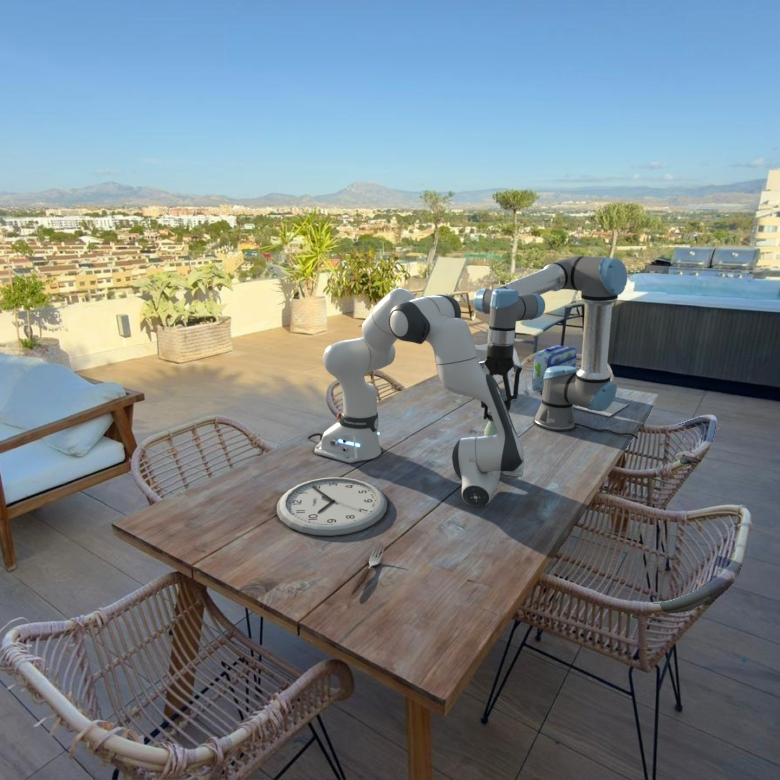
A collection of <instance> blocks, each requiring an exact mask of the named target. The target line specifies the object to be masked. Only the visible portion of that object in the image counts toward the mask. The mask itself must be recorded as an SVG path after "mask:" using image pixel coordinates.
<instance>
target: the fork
mask: <svg viewBox="0 0 780 780" xmlns="http://www.w3.org/2000/svg"><path fill="white" fill-rule="evenodd" d="M376 547H377V548H376ZM379 547H380V545H378V546H377V545H375V546H374V548H373V551H372V553H371V555H370V557H369V560H368V564H369V566H368V567H367V569H365V571H364V572H363V573H362V574H361V575H360V577H359V578H358V580H357V582H356V584H355V586H354V587H353V590H352V592H351V595H352V596H353V595H354V594H355V593H356V592H357V590H358V589H359V588H360V586H362V584H363V583H364V582H365V580H366V578H367V576H368V575H369V572H370V570H371V568H372V567H374V566H377V565H379V564H380V563H381V561H382V558H383V554H384V551H385V548H382V547H380V548H379ZM381 550H382V551H381Z"/></svg>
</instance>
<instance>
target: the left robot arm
mask: <svg viewBox="0 0 780 780" xmlns="http://www.w3.org/2000/svg"><path fill="white" fill-rule="evenodd" d="M361 335H362V336H361V337H358V338H353V339H346V340H340V341H337V342H335V343H332V344H330V345H328V346H326V348H325V349H324V352H323V354H322V362H323V367H324V368H325V370H326V371H327V373H329V374H330V375H331V376H333V377H334V378H335V379H336V380H337V381H338V383H339V385H340V388H341V393H342V406H343V407H342V409H341V410H340V412H338V414H337V415H336V420H338V421H337V422H335V423H334V424H332V425H331V426H330V427H328V428H327V429H326V430H324V431H323V432H315V433H313V434H310V435H308V436H307V440H310V439H312V438H314V437H316V436H317V437H318V436H319V442H318V443H317V444H316V445H315V447H314V454H316V455H320V456H322V457H326V458H330V459H332V460H333V459H334V460H337V461H340V462H344V463H347V464H353V463H357V462H361V461H368V460H372V459H375V458H377V457H379V456H380V455H381V454H382V448H381V445H380V440H379V435H380V432H378V429H379V412H378V392H377V389H376V388H375V387H374V385H372V384H371V383H368V382H367V381H366V379H365V373H367V372H368V373H369V372H373V371H377V370H381V369H383V368H386V367H387V366H390V365H391V364H393V362H394V361H395V358H396V347H395V345H394V344H395V343H396V341H397V340H399V341H402V342H407V343H413V344H418V345H422V344H424V343H425V342H427V343H429V345H430V346H431V348H432V350H433V354H434V361H435V368H436V371H437V375H438V379H439V381H440V383H441V385H443V387H444V388H445V389H447V390H448V391H450V392H452V393H454V394H457V395H460V396H464V397H470V398H473V399H476V400H479V401H480V402H481V401H482V402H484V403H485V404H486V405H487V406H488V411H489V412H490V413H491V415H492V418H493V421H494V423H495V426H496V429H497V432H498V434H495V435H487V436H484V435H475V436H466V437H460V438H459V439H458V440H457V441H456V443H455V444H454V446H453V449H452V453H451V454H452V455H451V462H452V466H453V470H454V475H455V477H456V478H457V479H459V480H460V481H461V497H462V500H463V501H464V503H466V504H467V505H469V506H471V507H473V508H482V507H485V506H487V505H488V504H489V503H491V501H492V500H493V498H494V497H495V495H496V491H497V488H498V484H499V482H500V479H501V478H507V479H515V480H516V479H519V478H522V477H523V476H524V465H525V452H524V447H523V444H522V441H521V440H520V438H519V435H518V433H517V431H516V428H515V426H514V424H513V421H512V418H511V415H510V411H508V410H507V407H506V404H505V402H504V399H505V398H504V396H503V395H502V392H501V389H500V387H499V384H498V382H497V381H496V378H495V377H494V375H493V376H492V375H489V374H487V373H486V372H485V371H484V370H483V369H482V367H481V365H480V363H479V361H478V357H477V351H476V347H475V346H476V344H475V340H474V337H473V334H472V331H471V329H470V326H469V325H468V323H467V321H466V320H464V319H462V309H461V305H460V303H459V302H458V300H457V299H455V297H453V296H451V295H447V294H434V295H426V296H421V297H418V298H416V296H415V295H414V294H413V293H412V292H411V291H410V290H408V289H405V288H400V287H398V288H394V289H392V290H391V291H390V292H388V293H387V294H386V295H385V296H384V297H383V298H382V299H380V301H379V302H378V303H377V304H376V305H375V307H374V308H373V309H372V310H371V312H370V313H369V314H368V315H367V317H366V318H365V320H364V321H363V323H362V325H361Z"/></svg>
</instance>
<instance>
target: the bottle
mask: <svg viewBox="0 0 780 780" xmlns="http://www.w3.org/2000/svg"><path fill="white" fill-rule="evenodd" d="M495 434H498V432H497V429H496V426H495V423H494V421H490V420H488V422H487V424H486V426H485V427H484V434H483V436H487V435H495Z"/></svg>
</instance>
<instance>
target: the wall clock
mask: <svg viewBox="0 0 780 780" xmlns="http://www.w3.org/2000/svg"><path fill="white" fill-rule="evenodd" d="M387 509H388V500H387V498H386V496H385V494H384V493H383V492H382V491H381V490H380V489H379V488H377V487H376V486H374V485H372V484H371V483H369V482H365V481H362V480H359V479H355V478H349V477H338V476H337V477H335V476H333V477H332V476H331V477H322V478H317V479H312V480H307V481H305V482H302V483H299V484H297V485H295V486H293V487H292V488H290V489H288V490H287V491H286V492H285V493H284V494H283V495H281V496H280V498H279V499H278V502H277V503H276V515H277V517H278V518H279V520H280V521H281V522H282V523H283V524H285V525H286V526H287V527H288V528H290V529H293V530H295V531H297V532H299V533H303V534H308V535H312V536H327V537H328V536H329V537H331V536H332V537H333V536H342V535H350V534H352V533H356V532H361V531H363V530H366V529H368V528H369V527H372V526H373V525H375V524H376V523H378V522H379V521H380V520H381V519H382V518H383V517H384V516H385V514H386V512H387Z"/></svg>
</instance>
